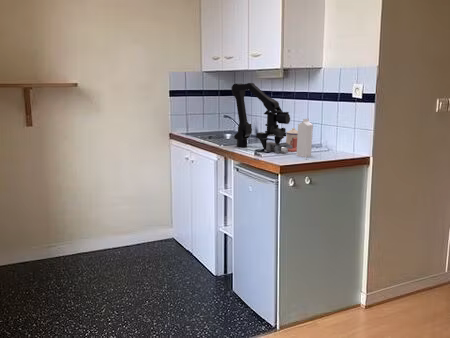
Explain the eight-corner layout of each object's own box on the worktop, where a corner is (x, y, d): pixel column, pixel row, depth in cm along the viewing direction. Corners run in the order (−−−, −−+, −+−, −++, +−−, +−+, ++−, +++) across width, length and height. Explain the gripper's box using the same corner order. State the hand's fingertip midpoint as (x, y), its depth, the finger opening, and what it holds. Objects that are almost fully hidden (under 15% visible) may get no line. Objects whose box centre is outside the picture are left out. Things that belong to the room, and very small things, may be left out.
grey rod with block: (265, 150, 273) (266, 142, 272) (271, 149, 275) (271, 141, 274) (283, 154, 261) (283, 146, 260) (288, 153, 263) (289, 145, 262)
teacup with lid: (290, 147, 291) (291, 129, 288) (282, 145, 299) (283, 127, 296) (306, 146, 296) (307, 128, 293) (298, 144, 304) (299, 126, 301)
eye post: (274, 153, 264) (274, 144, 263) (284, 152, 269) (285, 143, 267) (277, 154, 262) (277, 144, 261) (287, 152, 267) (288, 143, 266)
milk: (311, 158, 259) (313, 118, 254) (305, 159, 254) (308, 119, 249) (301, 156, 262) (304, 117, 258) (295, 158, 258) (298, 118, 253)
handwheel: (292, 152, 267) (293, 140, 266) (279, 150, 273) (280, 139, 271) (303, 149, 276) (303, 138, 274) (290, 148, 281) (290, 137, 280)
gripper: (268, 125, 257) (267, 152, 261) (293, 123, 268) (291, 149, 271) (256, 122, 266) (255, 149, 269) (280, 121, 277) (279, 147, 280)
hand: (270, 149), depth 272 cm, fingers open, 9 cm apart
